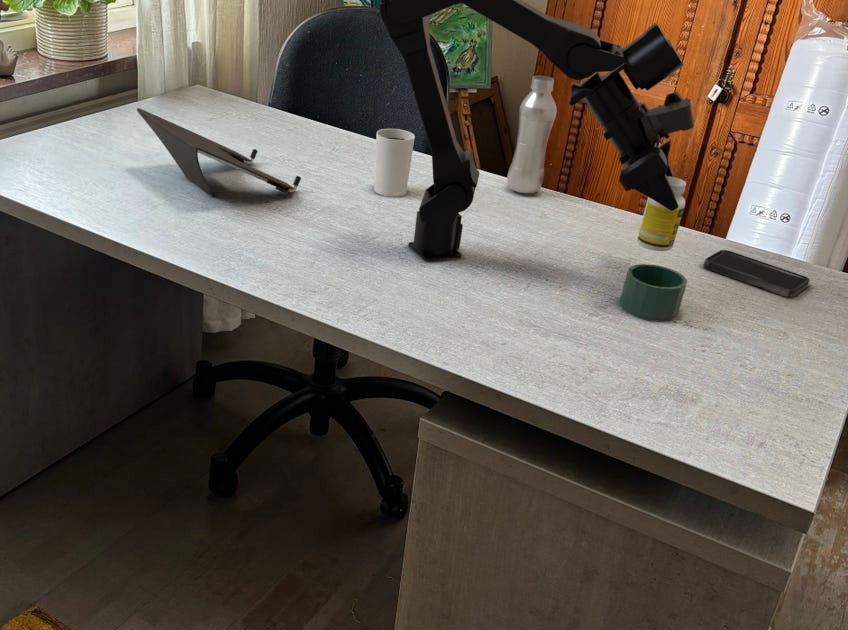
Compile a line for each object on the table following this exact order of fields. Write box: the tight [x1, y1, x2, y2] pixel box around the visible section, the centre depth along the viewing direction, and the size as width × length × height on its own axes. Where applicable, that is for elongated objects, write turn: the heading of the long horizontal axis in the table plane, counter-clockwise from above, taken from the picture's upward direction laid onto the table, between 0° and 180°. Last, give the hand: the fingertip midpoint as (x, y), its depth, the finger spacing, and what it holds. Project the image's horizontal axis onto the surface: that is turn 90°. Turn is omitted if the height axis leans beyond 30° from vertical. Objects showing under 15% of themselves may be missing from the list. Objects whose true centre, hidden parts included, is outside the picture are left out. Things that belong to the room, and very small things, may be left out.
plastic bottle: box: [506, 75, 558, 194], centre depth 174 cm, size 6×7×20 cm
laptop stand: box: [136, 107, 302, 197], centre depth 168 cm, size 23×23×9 cm
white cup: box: [373, 128, 416, 198], centre depth 172 cm, size 7×7×10 cm
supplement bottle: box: [636, 176, 687, 252], centre depth 143 cm, size 5×5×10 cm
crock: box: [619, 263, 688, 322], centre depth 141 cm, size 8×8×5 cm
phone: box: [703, 249, 811, 298], centre depth 155 cm, size 8×1×15 cm
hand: (675, 202), depth 141 cm, fingers closed on supplement bottle, 5 cm apart
